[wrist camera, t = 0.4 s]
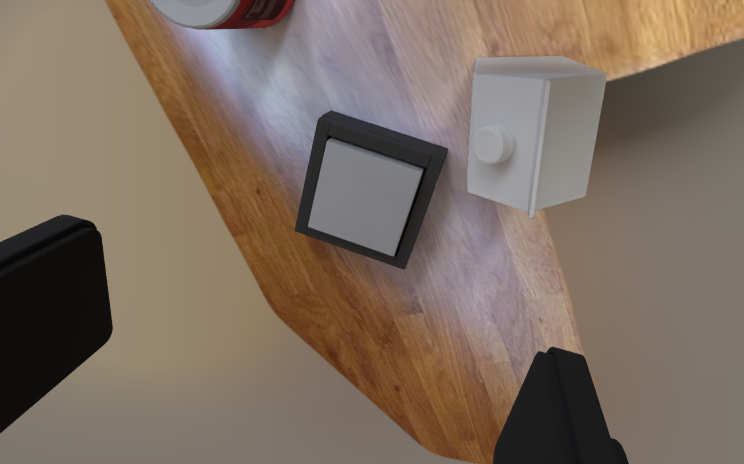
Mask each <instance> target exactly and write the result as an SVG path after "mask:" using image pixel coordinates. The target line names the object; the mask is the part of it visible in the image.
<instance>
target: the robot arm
mask: <svg viewBox="0 0 744 464" xmlns="http://www.w3.org/2000/svg"><path fill="white" fill-rule="evenodd" d="M106 278H107V277H106V269H105V261H104V253H103V246H102V237H101V234H100V233H99V231H97V228H96V227H95V225H94V223H92V222H90V221H88V220H84V219H80V218H76V217H73V216H69V215H60V216H57V217H54V218H52V219H50V220H48V221H46V222H43V223H41V224H39V225H37V226H35V227H33V228H30V229H28V230H26V231H24V232H21V233H19V234H17V235H15V236H13V237H10V238H8V239H6V240H4V241H2V242H0V433H1V432H2V431H4V430H5V429H6V428H7V427H8V426H9V425H10V424H12V423H13V422H14V421H15V420H16V419H18V418H19V417H20V416H21V415H22V414H24V413H25V412H26V411H27V410H28V409H29V408H30V407H32V406H33V405H34V404H35V403H36V402H37V401H39V400H40V399H41V398H42V397H43V396H45V395H46V394H47V393H48V392H49V391H50V390H52V389H53V388H54V387H55V386H56V385H58V384H59V383H60V382H61V381H62V380H63V379H65V378H66V377H67V376H68V375H69V374H70V373H72V372H73V371H74V370H75V369H76V368H77V367H79V366H80V365H81V364H82V363H83V362H85V361H86V360H87V359H88V358H89V357H90V356H92V355H93V354H94V353H95V352H96V351H97V350H99V349H100V348H101V347H102V346H103V345H104V344H105V343H106V342H107V341H108V340H109V338H110V336H111V334H112V330H113V329H112V328H113V326H112V318H111V310H110V302H109V294H108V285H107V279H106ZM493 464H629V463H628V460H627V457H626V454H625V452H624V450H623V447H622V445H621V444H620V443H619V442H618V441H617V440H616V439H612V438H610V435H609V432H608V428H607V425H606V422H605V419H604V416H603V413H602V409H601V406H600V403H599V400H598V397H597V394H596V391H595V387H594V384H593V381H592V378H591V375H590V372H589V369H588V365H587V362H586V360H585V358H584V356H583V355H581V354H577V353H573V352H570V351H566V350H562V349H559V348H555V347H550V348H549V349H548V351H547V352H546V353H544V352H540V351H539V352H538V353H537V354H536V356H535V357H534V360H533V362H532V364H531V366H530V369H529V371H528V373H527V376H526V378H525V380H524V382H523V385H522V387H521V389H520V391H519V394H518V396H517V398H516V400H515V403H514V405H513V407H512V409H511V412H510V414H509V416H508V418H507V421H506V423H505V425H504V427H503V430H502V432H501V434H500V437H499V439H498V441H497V444H496V446H495V450H494V457H493Z"/></svg>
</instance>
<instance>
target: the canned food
mask: <svg viewBox="0 0 744 464" xmlns="http://www.w3.org/2000/svg"><path fill="white" fill-rule="evenodd" d="M150 1H151V3H152V4H153V5H154V6H155V8H156V9H157V10H158V11H159V12H160V13H161V14H162V15H163V16H165V17H166V18H167V19H169V20H170V21H172V22H174V23H176V24H178V25H181V26H183V27H188V28H193V29H206V30H209V29H246V28H265V27H268V26H272V25H273V24H275V23H277V22H279V21H280V20H281V19H282V18H283V17H284V16H285V15H286V14H287V13H288V11H289V10H290V9H291V7H292V5H293V2H294V0H150Z"/></svg>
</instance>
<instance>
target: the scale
mask: <svg viewBox="0 0 744 464" xmlns="http://www.w3.org/2000/svg"><path fill="white" fill-rule="evenodd" d="M330 138H335V139H338V140H341V141H344V142H347V143H350V144H353V145H357V146H360V147H363V148H366V149H369V150H372V151H375V152H378V153H381V154H384V155H387V156H390V157H393V158H396V159H399V160H402V161H405V162H408V163H411V164H414V165H417V166H420V167H423V168H424V170H423V173H422V176H421V179H420V182H419V185H418V188H417V191H416V194H415V197H414V200H413V203H412V205H411V208H410V211H409V214H408V217H407V220H406V223H405V226H404V229H403V232H402V235H401V238H400V241H399V244H398V247H397V249H396V252H395V255H394V256H390V255H387V254H384V253H382V252H379V251H376V250H373V249H370V248H367V247H364V246H362V245H359V244H356V243H353V242H350V241H347V240H344V239H342V238H339V237H336V236H333V235H330V234H327V233H324V232H322V231H319V230H316V229H313V228H310V227H308V223H309V219H310V214H311V210H312V206H313V201H314V197H315V192H316V188H317V183H318V179H319V174H320V170H321V165H322V161H323V156H324V152H325V147H326V143H327V141H328V140H329V139H330ZM447 150H448V149H447V148H444V147H441V146H438V145H435V144H432V143H429V142H426V141H423V140H420V139H417V138H414V137H411V136H408V135H405V134H402V133H399V132H395V131H392V130H389V129H386V128H383V127H380V126H377V125H374V124H371V123H368V122H365V121H362V120H359V119H356V118H353V117H350V116H347V115H344V114H340V113H337V112H334V111H329V112H327V113H325V114H324V115H322V117H320V118H319V119H318V121H317V126H316V131H315V136H314V141H313V145H312V150H311V155H310V160H309V165H308V169H307V174H306V179H305V184H304V189H303V193H302V198H301V203H300V208H299V213H298V217H297V222H296V227H295V231H296V232H299V233H302V234H306V235H307V236H310V237H313V238H316V239H319V240H322V241H324V242H327V243H330V244H333V245H336V246H339V247H341V248H344V249H347V250H350V251H353V252H356V253H359V254H361V255H364V256H367V257H370V258H373V259H376V260H378V261H381V262H384V263H387V264H390V265H393V266H396V267H399V268H401V269H405V268H406V265H407V263H408V260H409V257H410V254H411V252H412V249H413V246H414V243H415V241H416V238H417V235H418V232H419V229H420V227H421V224H422V221H423V218H424V216H425V213H426V210H427V207H428V204H429V202H430V199H431V196H432V193H433V191H434V188H435V185H436V182H437V180H438V177H439V174H440V171H441V168H442V166H443V163H444V160H445V157H446V154H447Z"/></svg>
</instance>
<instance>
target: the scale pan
mask: <svg viewBox="0 0 744 464" xmlns="http://www.w3.org/2000/svg"><path fill="white" fill-rule="evenodd" d="M423 170H424V168H423V167H420V166H417V165H414V164H411V163H408V162H405V161H402V160H399V159H396V158H393V157H390V156H387V155H384V154H381V153H378V152H375V151H372V150H369V149H366V148H363V147H360V146H357V145H353V144H350V143H347V142H344V141H341V140H338V139H335V138H330V139H329V140H328V141H327V143H326V147H325V152H324V156H323V161H322V165H321V170H320V174H319V179H318V183H317V188H316V192H315V197H314V201H313V206H312V210H311V214H310V219H309V223H308V227H310V228H313V229H316V230H319V231H322V232H324V233H327V234H330V235H333V236H336V237H339V238H342V239H344V240H347V241H350V242H353V243H356V244H359V245H362V246H364V247H367V248H370V249H373V250H376V251H379V252H382V253H384V254H387V255H390V256H394V255H395V252H396V249H397V247H398V244H399V241H400V238H401V235H402V232H403V229H404V226H405V223H406V220H407V217H408V214H409V211H410V208H411V205H412V203H413V200H414V197H415V194H416V191H417V188H418V185H419V182H420V179H421V176H422V173H423Z"/></svg>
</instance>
